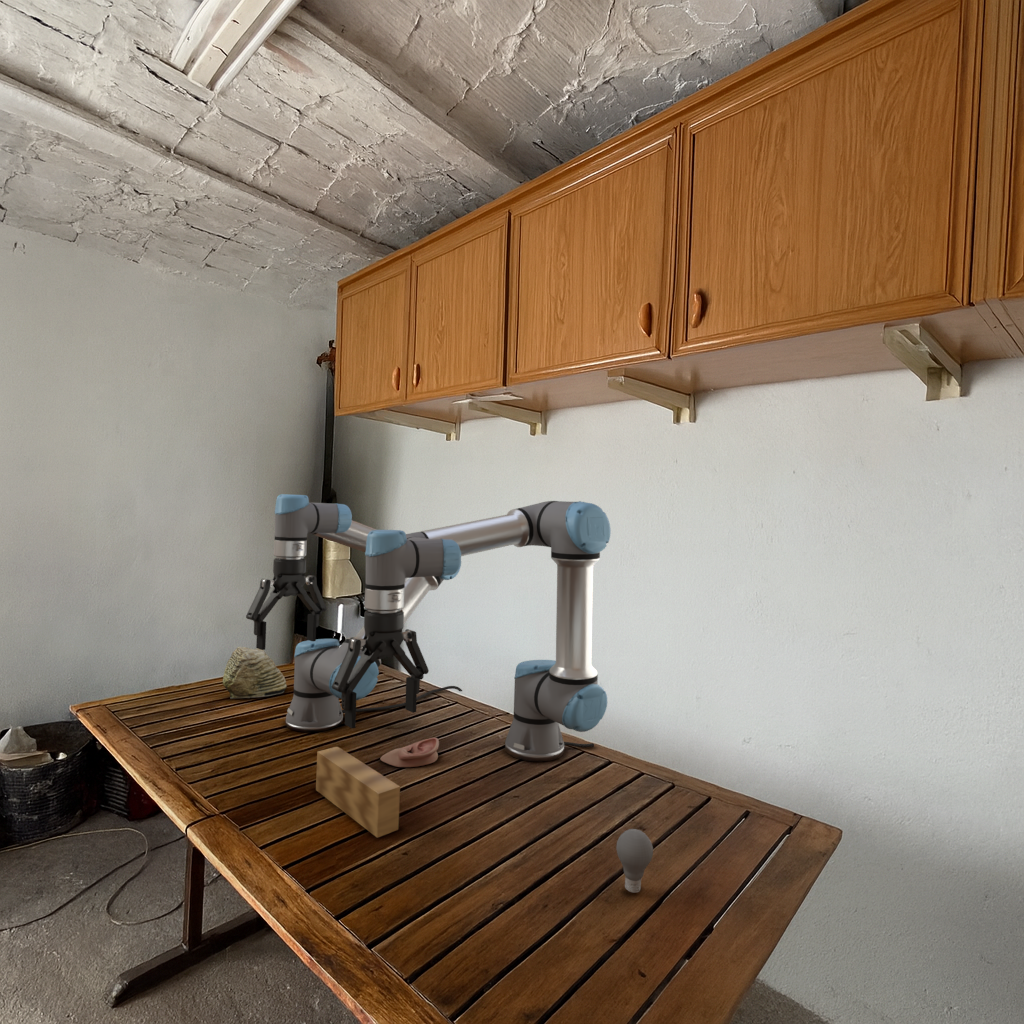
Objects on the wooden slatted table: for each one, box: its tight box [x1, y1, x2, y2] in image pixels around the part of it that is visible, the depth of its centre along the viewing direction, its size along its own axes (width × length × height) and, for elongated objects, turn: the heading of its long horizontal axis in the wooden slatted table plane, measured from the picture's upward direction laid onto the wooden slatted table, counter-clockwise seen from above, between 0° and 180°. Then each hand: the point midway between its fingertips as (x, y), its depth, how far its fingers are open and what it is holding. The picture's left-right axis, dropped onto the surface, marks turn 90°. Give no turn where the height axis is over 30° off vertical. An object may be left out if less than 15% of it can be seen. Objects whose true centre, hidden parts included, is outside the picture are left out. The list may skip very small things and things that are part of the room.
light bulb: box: [615, 828, 654, 894], centre depth 106 cm, size 6×6×10 cm
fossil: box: [222, 646, 288, 699], centre depth 198 cm, size 9×18×15 cm, turn 132°
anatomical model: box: [379, 737, 440, 768], centre depth 155 cm, size 13×4×12 cm
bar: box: [315, 746, 401, 838], centre depth 129 cm, size 25×5×8 cm, turn 44°
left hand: (286, 644), depth 154 cm, fingers open, 13 cm apart
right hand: (381, 718), depth 123 cm, fingers open, 13 cm apart
